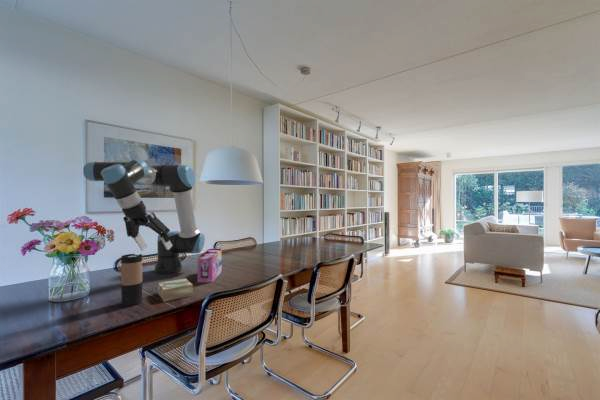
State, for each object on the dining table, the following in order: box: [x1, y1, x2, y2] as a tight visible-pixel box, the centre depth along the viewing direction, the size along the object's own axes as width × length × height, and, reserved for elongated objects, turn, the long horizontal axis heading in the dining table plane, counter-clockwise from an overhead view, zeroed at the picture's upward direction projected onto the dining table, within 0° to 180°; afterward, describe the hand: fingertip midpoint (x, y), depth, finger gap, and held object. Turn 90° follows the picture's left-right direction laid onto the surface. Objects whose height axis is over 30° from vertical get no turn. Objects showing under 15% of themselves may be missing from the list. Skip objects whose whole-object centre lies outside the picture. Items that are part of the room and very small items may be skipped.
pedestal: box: [157, 278, 194, 302], centre depth 127 cm, size 12×12×5 cm
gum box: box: [196, 248, 223, 283], centre depth 156 cm, size 24×8×14 cm, turn 3°
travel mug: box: [120, 253, 143, 307], centre depth 117 cm, size 8×8×20 cm
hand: (157, 248), depth 116 cm, fingers open, 13 cm apart
